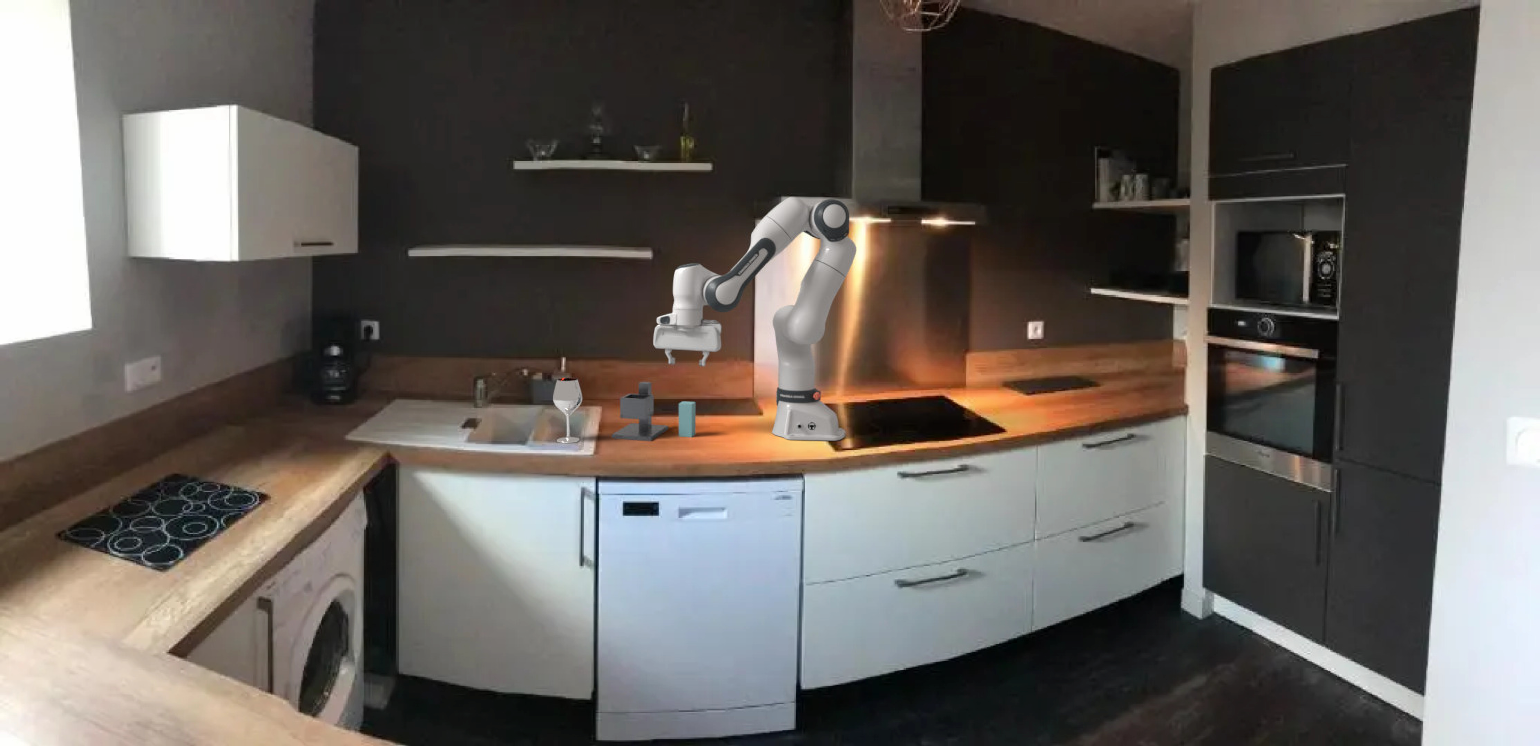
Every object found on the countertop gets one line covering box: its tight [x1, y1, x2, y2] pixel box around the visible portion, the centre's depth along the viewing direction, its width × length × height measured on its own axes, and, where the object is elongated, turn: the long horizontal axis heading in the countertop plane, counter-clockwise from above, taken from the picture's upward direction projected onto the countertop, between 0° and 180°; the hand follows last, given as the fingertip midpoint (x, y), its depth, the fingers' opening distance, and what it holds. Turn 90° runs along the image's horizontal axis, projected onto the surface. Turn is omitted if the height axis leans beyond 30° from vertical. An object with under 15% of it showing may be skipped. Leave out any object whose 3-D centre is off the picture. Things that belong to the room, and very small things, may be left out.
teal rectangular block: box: [678, 400, 696, 438], centre depth 259 cm, size 4×4×10 cm
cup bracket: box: [611, 381, 669, 442], centre depth 259 cm, size 12×16×15 cm
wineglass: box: [552, 377, 583, 444], centre depth 249 cm, size 8×8×18 cm
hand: (686, 365), depth 256 cm, fingers open, 8 cm apart
